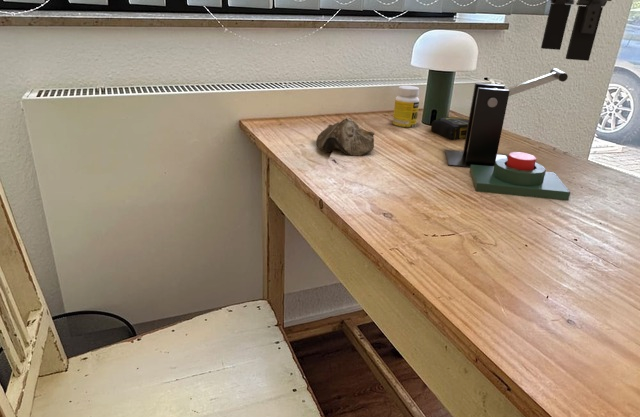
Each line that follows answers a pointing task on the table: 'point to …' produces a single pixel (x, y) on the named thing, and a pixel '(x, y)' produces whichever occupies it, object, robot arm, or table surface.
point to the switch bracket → (482, 128)
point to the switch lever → (538, 81)
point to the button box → (518, 181)
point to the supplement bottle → (406, 107)
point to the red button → (521, 161)
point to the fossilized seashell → (346, 138)
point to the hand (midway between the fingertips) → (562, 54)
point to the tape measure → (450, 127)
